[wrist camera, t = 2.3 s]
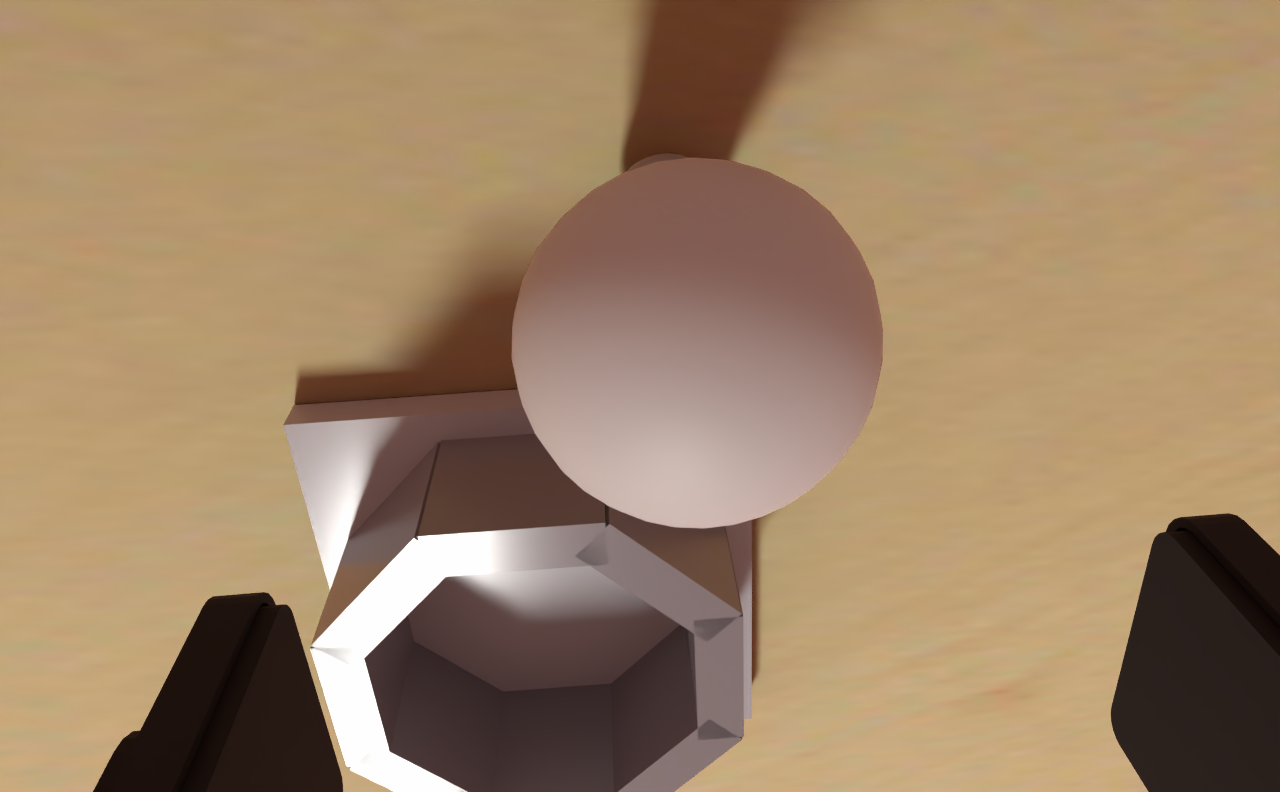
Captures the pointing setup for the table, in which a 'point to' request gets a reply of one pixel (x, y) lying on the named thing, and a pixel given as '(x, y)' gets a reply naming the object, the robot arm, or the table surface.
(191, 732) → the robot arm
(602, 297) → the lightbulb
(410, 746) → the socket
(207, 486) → the table surface
